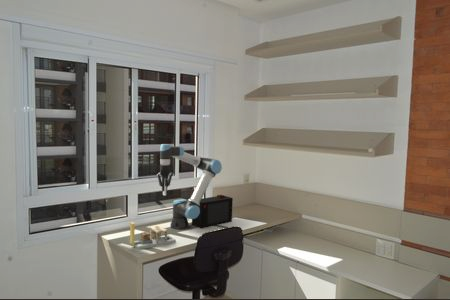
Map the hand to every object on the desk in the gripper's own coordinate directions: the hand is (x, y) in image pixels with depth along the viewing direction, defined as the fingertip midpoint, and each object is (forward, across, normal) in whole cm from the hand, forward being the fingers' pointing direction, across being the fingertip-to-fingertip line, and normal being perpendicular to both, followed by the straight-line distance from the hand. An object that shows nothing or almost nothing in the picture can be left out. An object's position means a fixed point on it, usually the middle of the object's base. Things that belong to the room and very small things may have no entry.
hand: (164, 195), depth 260 cm
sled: (+30, +22, +10) cm, 39 cm away
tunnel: (+30, +9, +10) cm, 33 cm away
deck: (+32, +12, +10) cm, 36 cm away
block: (+29, +19, +10) cm, 36 cm away
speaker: (+33, -52, -12) cm, 62 cm away
